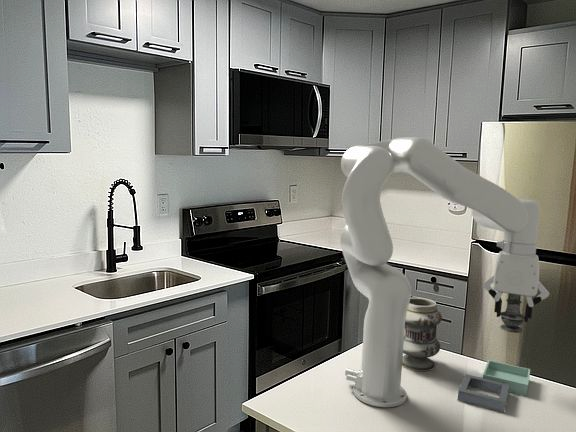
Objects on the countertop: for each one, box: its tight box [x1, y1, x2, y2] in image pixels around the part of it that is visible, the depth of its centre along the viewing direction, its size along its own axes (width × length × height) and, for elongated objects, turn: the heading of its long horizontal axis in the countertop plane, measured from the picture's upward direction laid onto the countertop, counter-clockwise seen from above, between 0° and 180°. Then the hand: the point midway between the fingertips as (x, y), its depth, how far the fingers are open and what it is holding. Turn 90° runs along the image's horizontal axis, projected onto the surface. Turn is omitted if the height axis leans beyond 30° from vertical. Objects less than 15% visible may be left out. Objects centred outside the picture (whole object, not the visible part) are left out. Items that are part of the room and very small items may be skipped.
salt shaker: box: [499, 293, 525, 334], centre depth 126 cm, size 6×6×12 cm
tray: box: [482, 359, 531, 397], centre depth 129 cm, size 10×10×3 cm
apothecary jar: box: [402, 297, 443, 372], centre depth 137 cm, size 12×12×18 cm
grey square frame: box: [457, 373, 510, 413], centre depth 121 cm, size 10×10×2 cm
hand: (512, 317), depth 126 cm, fingers closed on salt shaker, 5 cm apart
